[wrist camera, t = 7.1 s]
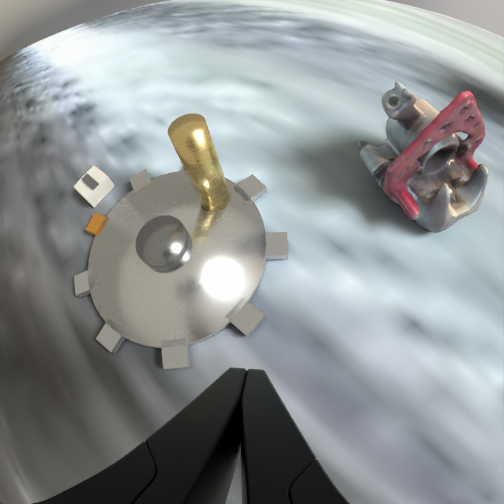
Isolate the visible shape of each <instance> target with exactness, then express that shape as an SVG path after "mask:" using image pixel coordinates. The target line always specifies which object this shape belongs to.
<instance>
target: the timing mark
mask: <svg viewBox="0 0 504 504" xmlns="http://www.w3.org/2000/svg"><path fill="white" fill-rule="evenodd" d="M114 186H115V185H114V184H113V182H112V181H111V180H110V179H109V177H108V176H107V175H105V174H104V173H103V172H102V171H100V170H99V169H98V168H97V167H95V166H93V167H92V168H91V169H90V170H89V171H88V172H87V173H86V174H85V175H84V176H83V177H82V178H81V179H80V180H79V181H78V182H77V183H76V185H75V186H74V188H75V189H76V190H77V191H78V192H79V193H80V194H81V195H82V196H83V197H84V198H85V199H86V200H87V201H88V202H89V203H90V204H91V205H92V206H93V207H94V208H95V207H96V206H97V205H98V204H99V202H100V201H101V200H102V199H103V198H104V197H105V196H106V195H107V194H108V193H109V192H110V191H111V190H112V189H113V188H114Z"/></svg>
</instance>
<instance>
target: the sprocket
mask: <svg viewBox="0 0 504 504" xmlns="http://www.w3.org/2000/svg"><path fill="white" fill-rule="evenodd" d="M168 135H169V137H170V139H171V141H172V143H173V146H174V148H175V150H176V152H177V154H178V156H179V158H180V160H181V162H182V164H183V166H184V169H185V171H179V172H173V173H168V174H165V175H161V176H158V177H156V178H153V179H151V178H150V175H149V173H148V172H147V170H146V169H145V170H143V171H142V172H140V173H138V174H137V175H135V176H133V177H131V178H130V182H131V185H132V187H133V190H132V191H131V192H129V193H128V194H127V195H126V196H124V197H123V198H122V199H121V200H120V201H119V202H118V203H117V204H116V205H115V206H114V207H113V208H112V210H111V211H110V212H109V213H108V215H107V216H106V217H105V216H102V215H99V214H96V213H95V214H94V215H93V217H92V219H91V220H90V222H89V224H88V226H87V227H86V229H85V230H86V231H87V232H88V233H90V234H92V235H95V238H94V241H93V244H92V247H91V251H90V256H89V262H88V270H87V271H85V272H82V273H80V274H78V275H75V276H74V283H75V295H76V296H78V297H80V298H81V297H83V296H86V295H88V294H91V296H92V299H93V302H94V304H95V306H96V308H97V310H98V312H99V314H100V315H101V316H102V318H103V319H104V321H105V322H106V323H105V325H104V327H103V328H102V330H101V331H100V333H99V335H98V336H97V338H96V339H97V340H98V341H99V342H100V343H101V344H102V345H103V346H104V347H105V348H107V349H108V350H109V351H110V352H111V353H115V354H116V353H117V351H118V349H119V348H120V346H121V345H122V343H123V341H124V340H125V338H127V339H129V340H131V341H133V342H136V343H138V344H142V345H145V346H148V347H154V348H161V349H162V361H163V369H165V370H172V369H182V368H191V361H190V352H189V345H193V344H196V343H199V342H201V341H204V340H206V339H208V338H210V337H212V336H214V335H215V334H217V333H219V332H220V331H222V330H223V329H225V328H226V327H227V326H228V325H229V324H231V323H232V324H233V325H234V326H235V327H237V328H238V329H239V330H240V331H241V332H242V333H244V334H245V335H246V336H247V337H249V336H250V335H251V334H252V333H253V332H254V331H255V329H256V328H257V327H258V326H259V325H260V324H261V323H262V322H263V320H264V319H265V318H266V317H265V315H264V314H263V313H261V312H260V311H259V310H258V309H257V308H255V307H254V306H253V305H252V304H251V303H249V302H250V301H251V300H252V298H253V296H254V294H255V293H256V291H257V289H258V287H259V284H260V282H261V279H262V276H263V273H264V269H265V264H266V260H272V259H288V243H287V232H280V233H265V229H264V224H263V220H262V218H261V215H260V212H259V210H258V209H257V207H256V205H255V203H254V201H256V200H257V199H258V198H260V197H261V196H262V195H264V194H265V193H267V188H266V186H265V185H264V184H262V183H261V182H260V181H259V180H258V179H257V178H256V177H255V176H254V175H253V174H252V175H251V176H249V177H248V178H246V179H245V180H243V181H242V182H241V183H239V184H238V185H236V184H235V183H233V182H232V181H230V180H228V179H226V178H225V177H224V174H223V171H222V168H221V165H220V162H219V159H218V156H217V153H216V150H215V148H214V145H213V142H212V139H211V136H210V133H209V130H208V127H207V124H206V121H205V118H204V117H203V116H201V115H199V114H187V115H183V116H181V117H179V118H177V119H176V120H175V121H173V122H172V123H171V125H170V126H169V128H168Z"/></svg>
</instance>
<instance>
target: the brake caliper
mask: <svg viewBox="0 0 504 504" xmlns="http://www.w3.org/2000/svg"><path fill="white" fill-rule="evenodd" d="M382 105H383V108H384V110H385V112H386V114H387V115H388V116H389V119H388V120H387V125H386V134H387V139H386V141H385V143H384V144H383V145H382V146H381V147H375V146H373V145H371V144H369V143H367V142H365V141H360V142H358V148H359V151H360V156H361V158H362V160H363V161H364V163H365V164H366V166H367V168H368V170H369V171H370V173H371V174H372V176H373V177H374V179H375V180H376V182H377V183H378V184H379V186H380V187H381V189H382V190H383V192H384V193H385V194H386V195H387V196H388V198H389V199H390V200H391V201H392V202H394V203H397V204H399V205H400V206H401V207H402V209H403V210H404V212H405V213H406V215H407V216H408V217H409V218H410V219H412V220H415V221H416V223H417V224H418V225H419V226H420V227H423V228H425V229H427V230H429V231H432V232H434V233H436V232H441V231H443V230H445V229H447V228H449V227H450V226H451V225H453V224H454V223H455V222H456V221H458V220H459V219H461V218H463V217H465V216H467V215H470V214H472V213H473V212H475V211H476V210H478V208H479V206H480V204H481V202H482V198H483V195H484V190H485V186H486V184H487V180H488V170H487V168H486V167H485V165H483V164H479V165H478V164H477V163H476V162H475V161H474V160H473V153H474V151H475V150H476V148H478V146H479V145H480V144H481V142H482V141H483V139H484V136H485V126H484V122H483V120H482V116H481V114H480V113H479V110H478V107H477V104H476V100H475V98H474V96H473V94H472V93H471V92H470V91H464V92H461V93H459V94H458V95H457V96H456V97H455V99H453V101H452V102H451V103H450V104H449V105H448V106H447V107H446V108H444V109H443V110H442V111H441V112H440V113H439V112H438V111H437V110H436V109H434V108H433V107H432V106H431V105H430V104H429V103H428V102H426V101H425V100H423V99H419V98H416V97H415V95H414V94H413V93H412V92H411V91H410V90H408V89H407V88H406V87H405V86H403V85H402V84H401V83H399V82H397V81H396V82H395V88H394V89H392V90H390V91H387V92H386V94H385V95H384V96H383V97H382ZM467 117H468V118H467ZM466 118H467V119H466ZM465 119H466V120H465ZM455 132H463V133H466V134H468V137H467V138H466V139H465V140H462V139H461V138H460V137H459V136H458V135H457V134H455Z"/></svg>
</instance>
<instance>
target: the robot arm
mask: <svg viewBox="0 0 504 504" xmlns="http://www.w3.org/2000/svg"><path fill="white" fill-rule="evenodd" d="M240 446H241V485H242V504H350V503H349V502H348V501H347V500H346V499H345V498H344V496H343V495H342V494H341V493H340V492H339V490H338V489H337V488H336V486H335V485H334V484H333V482H332V481H331V479H330V478H329V476H328V475H327V474H326V472H325V471H324V469H323V467H322V466H321V464H320V463H319V461H318V460H316V456H315V455H314V453H313V452H312V450H311V448H310V447H309V445H308V443H307V442H306V440H305V439H304V437H303V435H302V434H301V432H300V430H299V429H298V427H297V425H296V424H295V422H294V420H293V419H292V417H291V415H290V414H289V412H288V410H287V408H286V407H285V405H284V403H283V402H282V400H281V398H280V397H279V395H278V393H277V391H276V390H275V388H274V386H273V384H272V383H271V381H270V379H269V378H268V376H267V374H266V372H265V371H264V370H259V369H249V370H246V369H244V368H229V369H228V370H227V371H226V372H225V373H224V374H222V375H221V376H220V377H219V378H218V379H217V380H216V381H215V382H214V383H212V384H211V385H210V386H209V387H208V388H207V389H206V390H204V391H203V392H202V393H201V394H200V395H199V396H198V397H196V398H195V399H194V400H193V401H192V402H191V403H190V404H188V405H187V406H186V407H185V408H184V409H183V410H181V411H180V412H179V413H178V414H177V415H175V416H174V417H173V418H172V419H171V420H169V421H168V422H167V423H166V424H165V425H163V426H162V427H161V428H160V429H159V430H157V431H156V432H155V433H154V434H152V435H151V436H150V437H149V438H148V439H146V442H142V443H141V444H140V445H139V446H137V447H136V448H135V449H133V450H132V451H131V452H129V453H128V454H127V455H125V456H124V457H123V458H121V459H120V460H118V461H117V462H116V463H114V464H112V465H111V466H109V467H107V468H106V469H104V470H103V471H101V472H99V473H98V474H96V475H94V476H92V477H90V478H89V479H87V480H85V481H83V482H81V483H79V484H77V485H75V486H74V487H72V488H70V489H68V490H66V491H64V492H62V493H60V494H58V495H56V496H54V497H52V498H49V499H47V500H44V501H41V502H38V503H33V504H225V502H226V499H227V495H228V492H229V488H230V485H231V481H232V478H233V474H234V471H235V467H236V464H237V460H238V456H239V452H240Z"/></svg>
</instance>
